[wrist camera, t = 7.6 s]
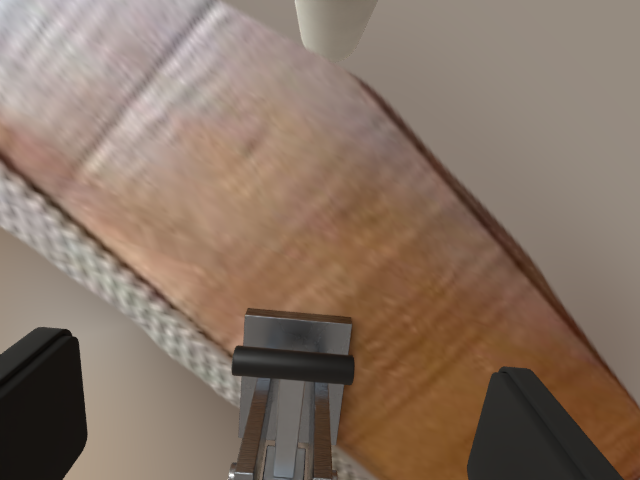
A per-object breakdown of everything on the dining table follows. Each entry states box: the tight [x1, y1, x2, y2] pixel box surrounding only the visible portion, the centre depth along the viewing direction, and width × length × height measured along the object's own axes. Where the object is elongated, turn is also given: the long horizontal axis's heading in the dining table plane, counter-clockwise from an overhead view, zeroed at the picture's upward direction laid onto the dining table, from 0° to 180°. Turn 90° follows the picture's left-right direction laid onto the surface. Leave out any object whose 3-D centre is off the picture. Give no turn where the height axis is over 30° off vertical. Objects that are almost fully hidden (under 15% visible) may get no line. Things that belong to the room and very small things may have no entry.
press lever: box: [232, 346, 355, 480], centre depth 19 cm, size 12×5×2 cm, turn 173°
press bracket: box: [228, 308, 352, 480], centre depth 26 cm, size 11×8×12 cm
